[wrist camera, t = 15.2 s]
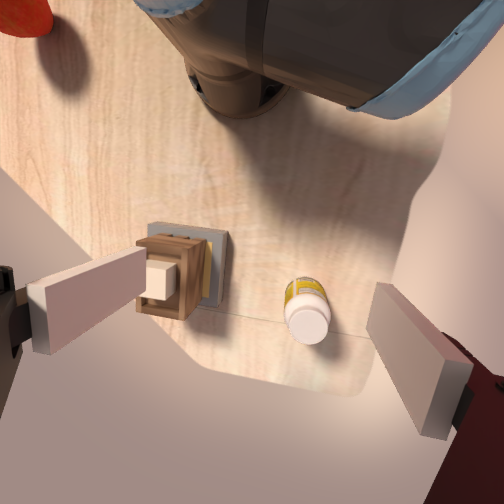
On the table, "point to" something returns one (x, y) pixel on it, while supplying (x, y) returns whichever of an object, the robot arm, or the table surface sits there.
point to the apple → (25, 18)
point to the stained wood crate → (187, 274)
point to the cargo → (160, 279)
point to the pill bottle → (306, 310)
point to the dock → (213, 256)
